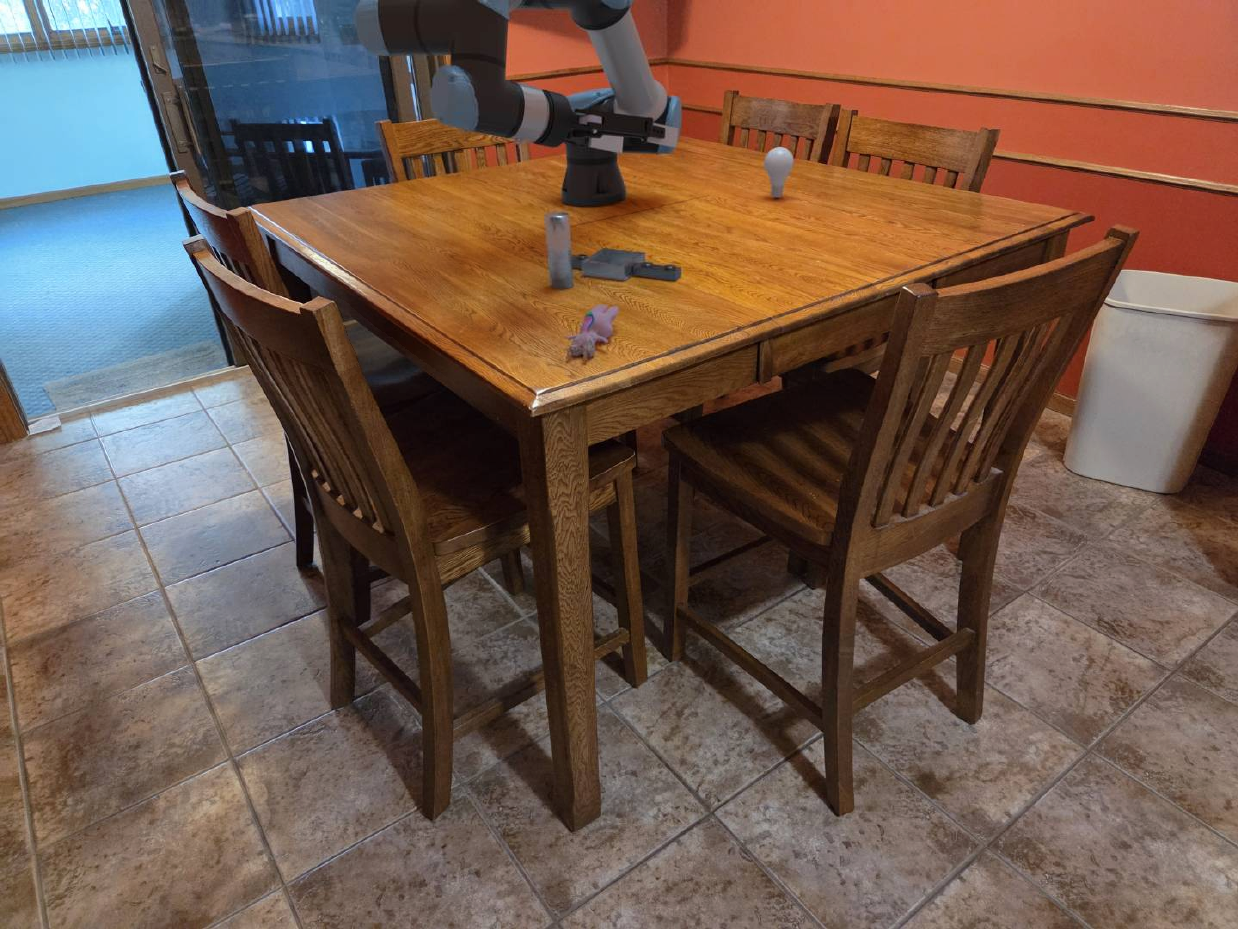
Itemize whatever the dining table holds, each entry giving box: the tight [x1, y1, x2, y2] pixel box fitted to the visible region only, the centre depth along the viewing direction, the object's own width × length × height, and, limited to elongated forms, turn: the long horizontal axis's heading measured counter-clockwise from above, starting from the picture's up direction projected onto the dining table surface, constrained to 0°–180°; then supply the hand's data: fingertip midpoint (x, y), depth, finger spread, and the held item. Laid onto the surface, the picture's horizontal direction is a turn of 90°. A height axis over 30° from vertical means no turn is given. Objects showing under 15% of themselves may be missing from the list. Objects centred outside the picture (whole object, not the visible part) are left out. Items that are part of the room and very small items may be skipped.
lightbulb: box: [764, 146, 794, 200], centre depth 181 cm, size 6×6×11 cm
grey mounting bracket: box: [572, 247, 682, 282], centre depth 144 cm, size 25×8×2 cm, turn 63°
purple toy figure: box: [565, 304, 619, 363], centre depth 117 cm, size 6×6×15 cm
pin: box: [543, 211, 575, 290], centre depth 136 cm, size 4×4×12 cm
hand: (647, 141), depth 131 cm, fingers open, 13 cm apart
